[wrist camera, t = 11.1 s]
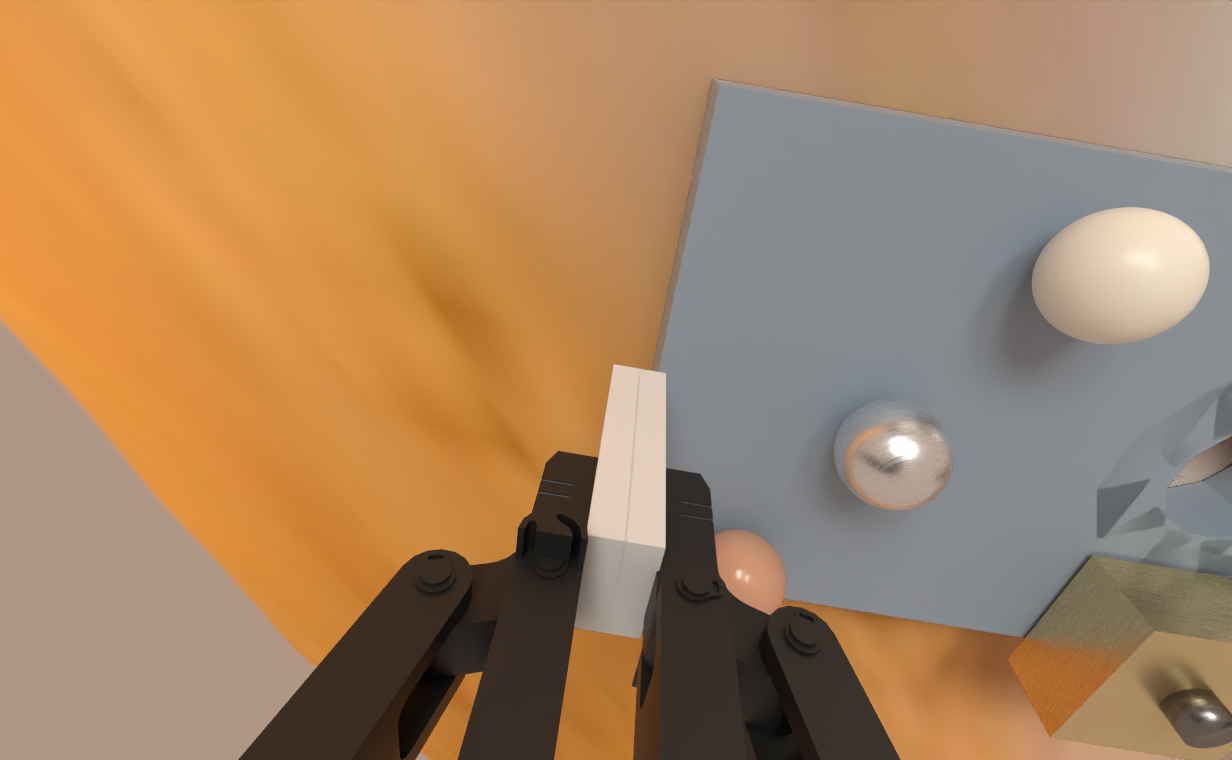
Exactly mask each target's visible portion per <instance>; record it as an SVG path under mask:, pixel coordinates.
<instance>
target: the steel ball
mask: <svg viewBox="0 0 1232 760" xmlns="http://www.w3.org/2000/svg"><path fill="white" fill-rule="evenodd" d="M833 454H834V462H835V466H836V469H837V472H838V474H839V476H840V478H841V480H842V481H843V483H844V484H845V485H846V487H847V488H848V489H849V490H850V491H851V492H852V493H853V494H854V495H855V496H857V497H858V498H859V499H861V500H863V501H864V502H866V503H868V504H870V505H872V506H875V507H878V508H881V509H886V510H898V511H901V510H910V509H914V508H918V507H921V506H923V505H925V504H927V503H929V502H931V501H933V500H934V499H935V498H937V497H938V496H939V495H940V494H941V493H942V492H943V491H944V490H945V488H946V487H947V486H948V484H949V483H950V480H951V478H952V476H953V473H954V470H955V464H956V450H955V445H954V442H953V439H952V436H951V434H950V432H949V431H948V429H947V427H946V426H945V424H944V423H943V422H942V421H941V420H940V419H939V418H938V417H937V416H936V415H935V414H934V413H932V412H931V411H930V410H928V409H927V408H925V407H923V406H921V405H919V404H916V403H914V402H910V401H906V400H901V399H882V400H877V401H873V402H870V403H867V404H865V405H863V406H861V407H859V408H857V409H856V410H855V411H853V412H852V413H851V414H850V415H849V416H848V417H847V418H846V419H845V420H844V421H843V423H842V424H841V426H840V428H839V430H838V432H837V434H836V437H835V442H834V448H833Z"/></svg>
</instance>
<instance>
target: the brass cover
mask: <svg viewBox="0 0 1232 760" xmlns="http://www.w3.org/2000/svg"><path fill="white" fill-rule="evenodd" d="M1008 661H1009V663H1010V665H1011V667H1012V668H1013V670H1014V672H1015V674H1016V676H1017V678H1018V679H1019V681H1020V683H1021V685H1022V687H1023V689H1024V690H1025V692H1026V694H1027V696H1028V698H1029V700H1030V701H1031V703H1032V705H1033V707H1034V709H1035V711H1036V712H1037V714H1038V716H1039V718H1040V720H1041V722H1042V723H1043V725H1044V727H1045V729H1046V731H1047V733H1048V734H1049V736H1050V737H1051V738H1057V739H1063V740H1069V741H1075V742H1082V743H1088V744H1094V745H1100V746H1107V747H1113V748H1119V749H1125V750H1131V751H1138V752H1144V753H1150V754H1156V755H1162V756H1169V757H1175V758H1181V759H1187V760H1222V759H1223V758H1225V757H1226V756H1227V755H1228V754H1230V753H1231V752H1232V578H1231V577H1225V576H1219V575H1212V574H1206V573H1200V572H1194V571H1188V570H1182V569H1176V568H1170V567H1164V566H1158V565H1152V564H1146V563H1140V562H1134V561H1127V560H1121V559H1115V558H1109V557H1103V556H1097V555H1092V556H1091V558H1090V559H1089V560H1088V561H1087V562H1086V564H1085V565H1084V566H1083V567H1082V569H1081V570H1080V571H1079V572H1078V574H1077V575H1076V576H1075V577H1074V579H1073V580H1072V581H1071V582H1070V583H1069V585H1068V586H1067V587H1066V588H1065V590H1064V591H1063V592H1062V593H1061V595H1060V596H1059V597H1058V598H1057V599H1056V601H1055V602H1054V603H1053V604H1052V606H1051V607H1050V608H1049V609H1048V611H1047V612H1046V613H1045V614H1044V615H1043V617H1042V618H1041V619H1040V620H1039V622H1038V623H1037V624H1036V625H1035V627H1034V628H1033V629H1032V630H1031V632H1030V633H1029V634H1028V635H1027V636H1026V638H1025V639H1024V640H1023V641H1022V643H1021V644H1020V645H1019V646H1018V648H1017V649H1016V650H1015V651H1014V652H1013V654H1012V655H1011V656H1010V657H1009V659H1008Z"/></svg>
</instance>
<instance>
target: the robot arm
mask: <svg viewBox="0 0 1232 760" xmlns="http://www.w3.org/2000/svg"><path fill="white" fill-rule="evenodd" d="M711 507H712V502H711V492H710V488H709V486H708V485H707V483H706V482H705V480H704V478H703V477H702V475H701V474H699V473H693V472H687V471H681V470H675V469H670V468H666V373H662V372H656V371H650V370H644V369H638V368H633V367H627V366H621V365H615V364H614V366H613V372H612V377H611V383H610V389H609V395H608V400H607V406H606V412H605V417H604V423H603V429H602V435H601V440H600V446H599V452H598V458H597V457H591V456H585V455H579V454H573V453H567V452H561V451H558V452H557V453H556V454H555V455H554V456H553V457H552V458H551V459H550V460H549V461H548V462H547V463H546V465H545V469H544V472H543V476H542V480H541V483H540V486H539V490H538V494H537V497H536V500H535V504H534V507H533V511H532V513H531V514H529V515H528V516H527V517H525V518H524V519H523V520H522V522H521V524H520V526H519V527H518V535H517V546H516V552H515V553H513V554H512V555H511V556H509V557H507V558H505V559H503V560H500V561H497V562H493V563H487V564H478V565H469V563H468V562H467V560H466V559H465V558H464V557H462V556H461V555H459V554H457V553H456V552H452V551H447V550H442V549H440V550H430V551H426V552H423V553H421V554H418V555H416V556H414V557H413V558H411V559H410V560H409V561H408V562H407V563H405V564H404V565H403V566H402V568H401V569H400V570H399V571H398V572H397V573H396V575H395V576H394V577H393V578H392V579H391V581H390V582H389V583H388V584H387V585H386V586H385V588H384V589H383V590H382V591H381V592H380V594H379V595H378V596H377V597H376V598H375V599H374V601H373V602H372V603H371V604H370V605H369V606H368V608H367V609H366V610H365V611H364V612H363V614H362V615H361V616H360V617H359V618H358V619H357V621H356V622H355V623H354V624H353V625H352V626H351V628H350V629H349V630H348V631H347V632H346V634H345V635H344V636H343V637H342V638H341V639H340V641H339V642H338V643H337V644H336V645H335V647H334V648H333V649H332V650H331V651H330V652H329V654H328V655H327V656H326V657H325V658H324V659H323V661H322V662H321V663H320V664H319V665H318V667H317V668H316V669H315V670H314V671H313V672H312V674H311V675H310V676H309V677H308V678H307V680H306V681H305V682H304V683H303V684H302V685H301V687H300V688H299V689H298V690H297V691H296V692H295V694H294V695H293V696H292V697H291V698H290V700H289V701H288V702H287V703H286V704H285V706H284V707H283V708H282V709H281V710H280V711H279V713H278V714H277V715H276V716H275V717H274V718H273V720H272V721H271V722H270V723H269V724H268V725H267V727H266V728H265V729H264V730H263V731H262V733H261V734H260V735H259V736H258V737H257V738H256V740H255V741H254V742H253V743H252V744H251V746H250V747H249V748H248V749H247V750H246V751H245V753H244V754H243V755H242V756H241V757H240V758H239V760H415V759H416V758H417V756H418V754H419V753H420V751H421V749H422V748H423V746H424V744H425V743H426V741H427V739H428V737H429V736H430V734H431V732H432V731H433V729H434V727H435V726H436V724H437V722H438V721H439V719H440V717H441V716H442V714H443V712H444V711H445V709H446V707H447V706H448V704H449V702H450V700H451V699H452V697H453V695H454V694H455V692H456V690H457V689H458V687H459V685H460V684H461V682H462V680H463V679H464V677H465V675H466V674H469V673H475V672H482V671H483V673H482V677H481V680H480V684H479V687H478V691H477V694H476V698H475V701H474V705H473V708H472V712H471V715H470V719H469V722H468V726H467V729H466V733H465V736H464V740H463V743H462V747H461V750H460V754H459V757H458V760H554V755H555V748H556V742H557V735H558V729H559V722H560V716H561V709H562V703H563V696H564V690H565V683H566V677H567V670H568V664H569V657H570V651H571V644H572V638H573V631H574V628H577V629H583V630H589V631H595V632H601V633H607V634H613V635H619V636H625V637H631V638H637V639H640V638H641V634H642V631H643V648H642V651H641V655H640V658H639V662H638V665H637V669H636V672H635V676H634V680H633V683H632V686H634V687H637V696H636V716H635V736H634V757H633V760H900V758H899V756H898V754H897V752H896V750H895V748H894V746H893V744H892V742H891V741H890V739H889V737H888V735H887V733H886V731H885V729H884V727H883V725H882V723H881V722H880V720H879V718H878V716H877V714H876V712H875V710H874V708H873V706H872V704H871V702H870V701H869V699H868V697H867V695H866V693H865V691H864V689H863V687H862V685H861V683H860V682H859V680H858V678H857V676H856V674H855V672H854V670H853V668H852V666H851V664H850V663H849V661H848V659H847V657H846V655H845V653H844V651H843V649H842V647H841V645H840V644H839V642H838V640H837V638H836V636H835V634H834V633H833V632H832V630H831V629H830V628H829V626H828V625H827V623H825V622H824V621H823V620H822V619H820V618H819V617H818V616H817V615H815V614H814V613H812V612H810V611H807V610H805V609H803V608H799V607H792V606H786V607H782V608H778V609H776V610H775V611H774V612H773V613H772V614H771V615H769V614H767V613H764V612H762V611H760V610H758V609H756V608H754V607H751V606H749V605H747V604H746V603H744V602H742V601H740V600H739V599H738V598H736V597H735V596H734V595H733V594H731V593H730V591H729V590H728V589H727V587H726V584H725V582H724V581H723V580H722V578H721V577H720V575H719V571H718V565H717V555H716V544H715V534H714V523H713V513H712V508H711Z"/></svg>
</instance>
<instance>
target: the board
mask: <svg viewBox="0 0 1232 760" xmlns="http://www.w3.org/2000/svg"><path fill="white" fill-rule="evenodd" d="M1121 207H1139V208H1149V209H1153V210H1157V211H1161V212H1165V213H1167V214H1169V215H1172V216H1174V217H1176V218H1178V219H1180V220H1181V221H1183V222H1184V223H1186V224H1187V225H1188V226H1189V227H1191V228H1192V229H1193V230H1194V231H1195V232H1196V233H1197V235H1198V236H1199V237H1200V239H1201V240H1202V242H1203V243H1204V246H1205V248H1206V251H1207V254H1208V257H1209V279H1208V283H1207V286H1206V289H1205V291H1204V293H1203V295H1202V297H1201V299H1200V301H1199V302H1198V304H1197V305H1196V306H1195V307H1194V309H1193V310H1192V311H1191V312H1190V313H1189V314H1188V315H1187V316H1186V317H1185V318H1184V319H1183V320H1181V321H1180V322H1179V323H1177V324H1176V325H1175V326H1173V327H1171V328H1170V329H1168V330H1166V331H1164V332H1162V333H1160V334H1158V335H1155V336H1153V337H1150V338H1148V339H1144V340H1141V341H1137V342H1132V343H1126V344H1095V343H1090V342H1085V341H1081V340H1078V339H1076V338H1073V337H1070V336H1068V335H1066V334H1064V333H1063V332H1061V331H1059V330H1058V329H1056V328H1055V327H1054V326H1052V325H1051V324H1050V323H1049V322H1048V321H1047V320H1046V319H1045V318H1044V317H1043V315H1042V314H1041V313H1040V311H1039V309H1038V307H1037V306H1036V303H1035V300H1034V297H1033V294H1032V274H1033V269H1034V266H1035V263H1036V261H1037V259H1038V257H1039V255H1040V253H1041V252H1042V250H1043V248H1044V247H1045V246H1046V244H1047V243H1048V242H1049V241H1050V240H1051V239H1052V238H1053V237H1054V236H1055V235H1056V234H1057V233H1058V232H1060V231H1061V230H1062V229H1064V228H1065V227H1066V226H1068V225H1069V224H1071V223H1073V222H1074V221H1076V220H1078V219H1080V218H1082V217H1084V216H1087V215H1090V214H1093V213H1096V212H1099V211H1103V210H1107V209H1113V208H1121ZM652 371H656V372H662V373H666V468H670V469H675V470H681V471H687V472H693V473H699V474H701V475H702V477H703V478H704V480H705V482H706V483H707V485H708V486H709V488H710V492H711V502H712V507H711V508H712V513H713V523H714V534H716V533H718V532H720V531H723V530H728V529H743V530H748V531H751V532H754V533H756V534H758V535H760V536H761V537H763V538H765V539H766V540H767V541H768V542H769V543H770V544H771V545H772V546H773V547H774V548H775V549H776V551H777V552H778V554H779V555H780V557H781V559H782V561H783V564H784V567H785V571H786V579H787V585H786V592H785V596H784V599H789V600H795V601H801V602H807V603H813V604H819V605H825V606H832V607H838V608H844V609H850V610H856V611H862V612H868V613H875V614H881V615H887V616H893V617H899V618H905V619H911V620H918V621H924V622H930V623H936V624H942V625H948V626H954V627H960V628H967V629H973V630H979V631H985V632H991V633H997V634H1003V635H1010V636H1016V637H1022V638H1026V636H1027V635H1028V634H1029V633H1030V632H1031V630H1032V629H1033V628H1034V627H1035V625H1036V624H1037V623H1038V622H1039V620H1040V619H1041V618H1042V617H1043V615H1044V614H1045V613H1046V612H1047V611H1048V609H1049V608H1050V607H1051V606H1052V604H1053V603H1054V602H1055V601H1056V599H1057V598H1058V597H1059V596H1060V595H1061V593H1062V592H1063V591H1064V590H1065V588H1066V587H1067V586H1068V585H1069V583H1070V582H1071V581H1072V580H1073V579H1074V577H1075V576H1076V575H1077V574H1078V572H1079V571H1080V570H1081V569H1082V567H1083V566H1084V565H1085V564H1086V562H1087V561H1088V560H1089V559H1090V558H1091V556H1092V555H1097V556H1103V557H1109V558H1115V559H1121V560H1127V561H1134V562H1140V563H1146V564H1152V565H1158V566H1164V567H1170V568H1176V569H1182V570H1188V571H1194V572H1200V573H1206V574H1212V575H1219V576H1225V577H1231V578H1232V466H1230V467H1228V468H1226V469H1224V470H1223V471H1221V472H1219V473H1217V474H1215V475H1213V476H1212V477H1210V478H1208V479H1206V480H1204V481H1201V482H1196V483H1191V484H1186V485H1181V486H1176V487H1172V488H1167V487H1168V486H1169V485H1170V484H1171V483H1172V481H1173V480H1174V479H1175V478H1176V477H1177V475H1178V474H1179V473H1180V472H1181V471H1182V469H1183V468H1184V467H1185V466H1186V465H1187V463H1188V462H1189V461H1190V460H1191V459H1192V458H1193V457H1195V456H1197V455H1199V454H1200V453H1202V452H1204V451H1206V450H1207V449H1209V448H1211V447H1213V446H1215V445H1216V444H1218V443H1220V442H1222V441H1223V440H1225V439H1227V438H1229V437H1230V436H1232V168H1231V167H1225V166H1219V165H1213V164H1208V163H1202V162H1196V161H1190V160H1184V159H1179V158H1173V157H1167V156H1161V155H1155V154H1150V153H1144V152H1138V151H1132V150H1126V149H1121V148H1115V147H1109V146H1103V145H1097V144H1092V143H1086V142H1080V141H1074V140H1068V139H1063V138H1057V137H1051V136H1045V135H1039V134H1034V133H1028V132H1022V131H1016V130H1010V129H1005V128H999V127H993V126H987V125H981V124H976V123H970V122H964V121H958V120H952V119H947V118H941V117H935V116H929V115H923V114H918V113H912V112H906V111H900V110H894V109H889V108H883V107H877V106H871V105H866V104H860V103H854V102H848V101H842V100H837V99H831V98H825V97H819V96H813V95H808V94H802V93H796V92H790V91H784V90H779V89H773V88H767V87H761V86H755V85H750V84H744V83H738V82H732V81H726V80H721V79H715V78H713V79H712V83H711V88H710V93H709V98H708V103H707V107H706V112H705V117H704V122H703V127H702V132H701V136H700V141H699V146H698V151H697V156H696V160H695V165H694V170H693V175H692V180H691V184H690V189H689V194H688V199H687V204H686V208H685V213H684V218H683V223H682V228H681V232H680V237H679V242H678V247H677V252H676V257H675V261H674V266H673V271H672V276H671V281H670V285H669V290H668V295H667V300H666V305H665V309H664V314H663V319H662V324H661V329H660V333H659V338H658V343H657V348H656V353H655V357H654V362H653V367H652ZM882 399H901V400H906V401H910V402H914V403H916V404H919V405H921V406H923V407H925V408H927V409H928V410H930V411H931V412H932V413H934V414H935V415H936V416H937V417H938V418H939V419H940V420H941V421H942V422H943V423H944V424H945V426H946V427H947V429H948V431H949V432H950V434H951V436H952V439H953V442H954V445H955V450H956V464H955V470H954V473H953V476H952V478H951V480H950V483H949V484H948V486H947V487H946V488H945V490H944V491H943V492H942V493H941V494H940V495H939V496H938V497H937V498H935V499H934V500H933V501H931V502H929V503H927V504H925V505H923V506H921V507H918V508H914V509H910V510H901V511H898V510H886V509H881V508H878V507H875V506H872V505H870V504H868V503H866V502H864V501H863V500H861V499H859V498H858V497H857V496H855V495H854V494H853V493H852V492H851V491H850V490H849V489H848V488H847V487H846V485H845V484H844V483H843V481H842V480H841V478H840V476H839V474H838V472H837V469H836V466H835V462H834V454H833V448H834V442H835V437H836V434H837V432H838V430H839V428H840V426H841V424H842V423H843V421H844V420H845V419H846V418H847V417H848V416H849V415H850V414H851V413H852V412H853V411H855V410H856V409H857V408H859V407H861V406H863V405H865V404H867V403H870V402H873V401H877V400H882Z"/></svg>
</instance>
